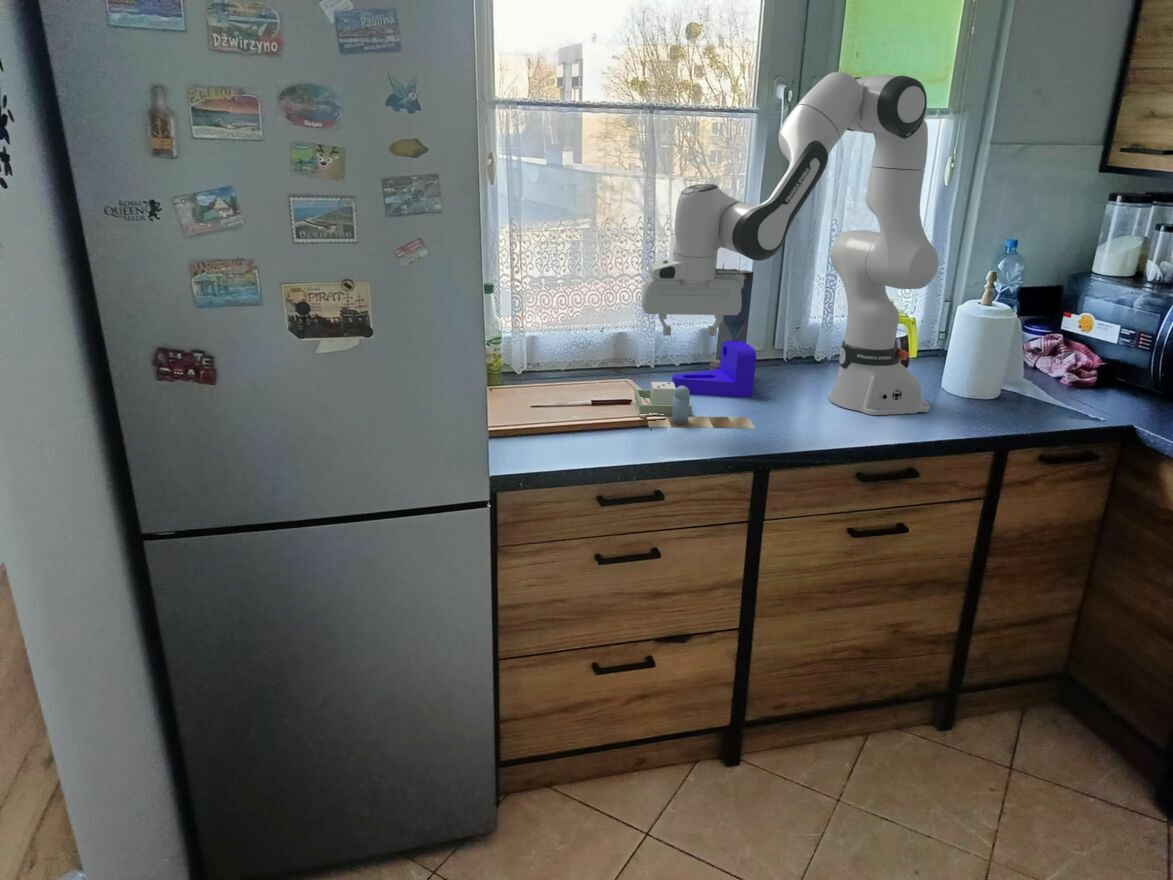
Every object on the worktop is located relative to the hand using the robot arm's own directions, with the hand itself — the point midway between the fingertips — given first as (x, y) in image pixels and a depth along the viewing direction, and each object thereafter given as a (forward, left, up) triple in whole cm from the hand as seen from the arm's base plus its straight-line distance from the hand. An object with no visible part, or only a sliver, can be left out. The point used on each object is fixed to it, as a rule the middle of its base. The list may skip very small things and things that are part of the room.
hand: (689, 335), depth 181 cm
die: (+3, -9, -19) cm, 21 cm away
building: (-17, -32, -20) cm, 41 cm away
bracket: (-9, -21, -20) cm, 31 cm away
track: (-4, +1, -19) cm, 20 cm away
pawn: (+1, +1, -19) cm, 19 cm away
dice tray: (+3, -9, -19) cm, 21 cm away
